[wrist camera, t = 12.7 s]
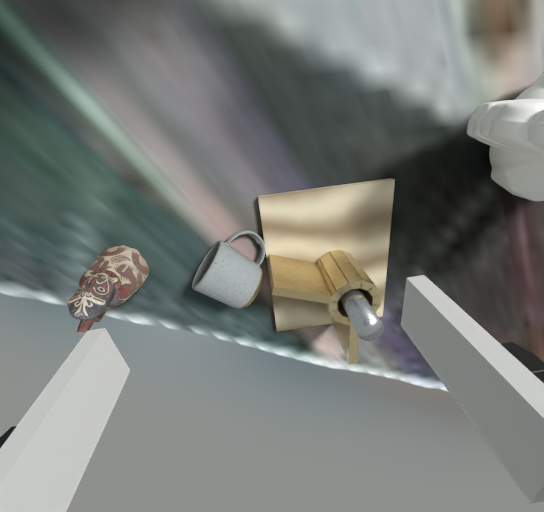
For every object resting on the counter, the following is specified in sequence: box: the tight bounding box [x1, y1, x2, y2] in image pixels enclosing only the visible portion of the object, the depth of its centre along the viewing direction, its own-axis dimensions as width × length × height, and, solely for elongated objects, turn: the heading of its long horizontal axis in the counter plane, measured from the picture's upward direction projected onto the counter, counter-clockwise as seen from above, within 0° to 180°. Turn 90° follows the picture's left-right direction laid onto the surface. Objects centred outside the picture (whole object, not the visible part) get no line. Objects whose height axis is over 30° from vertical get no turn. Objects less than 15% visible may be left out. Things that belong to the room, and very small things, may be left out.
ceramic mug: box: [192, 230, 266, 309], centre depth 38 cm, size 11×8×8 cm
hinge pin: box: [340, 288, 384, 341], centre depth 36 cm, size 3×3×14 cm
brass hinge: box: [267, 250, 381, 364], centre depth 40 cm, size 15×14×9 cm
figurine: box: [67, 245, 149, 333], centre depth 35 cm, size 7×7×12 cm
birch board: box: [258, 178, 395, 331], centre depth 42 cm, size 24×19×1 cm
